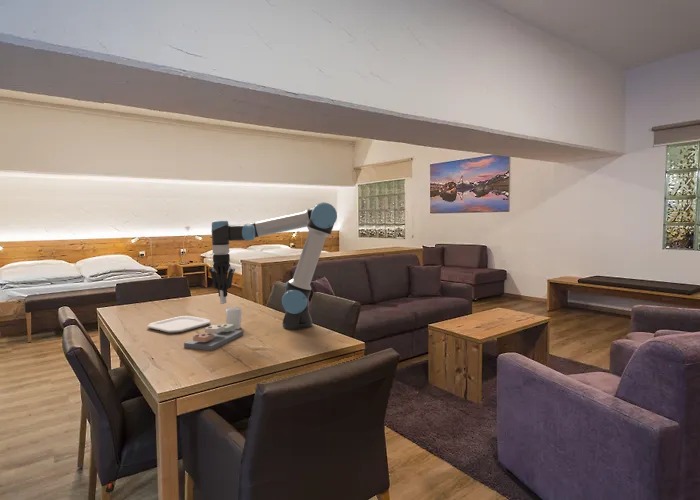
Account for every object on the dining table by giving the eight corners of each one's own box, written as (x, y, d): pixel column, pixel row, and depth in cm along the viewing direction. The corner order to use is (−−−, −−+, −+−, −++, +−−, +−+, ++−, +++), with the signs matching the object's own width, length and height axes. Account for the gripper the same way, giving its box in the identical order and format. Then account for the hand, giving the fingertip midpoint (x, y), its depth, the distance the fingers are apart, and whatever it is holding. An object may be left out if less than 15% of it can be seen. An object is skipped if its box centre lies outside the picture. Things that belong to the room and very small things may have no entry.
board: (243, 334, 196) (243, 330, 196) (211, 350, 173) (211, 345, 173) (218, 332, 200) (217, 328, 200) (184, 347, 178) (183, 342, 178)
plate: (173, 336, 195) (173, 331, 195) (142, 329, 208) (142, 324, 208) (215, 324, 216) (215, 320, 216) (185, 318, 229) (184, 314, 229)
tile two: (224, 330, 188) (224, 325, 188) (216, 333, 183) (216, 328, 183) (213, 329, 190) (213, 324, 190) (204, 332, 185) (204, 327, 184)
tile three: (213, 338, 181) (213, 333, 181) (204, 342, 175) (204, 337, 175) (202, 337, 183) (202, 332, 183) (193, 341, 177) (192, 335, 177)
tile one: (234, 328, 196) (234, 323, 196) (227, 332, 190) (226, 327, 190) (223, 327, 198) (223, 323, 198) (216, 331, 192) (215, 326, 192)
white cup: (237, 330, 203) (237, 310, 203) (222, 329, 205) (222, 310, 204) (244, 326, 211) (244, 307, 210) (230, 325, 213) (230, 306, 212)
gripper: (237, 253, 195) (239, 302, 197) (213, 252, 198) (216, 301, 200) (228, 254, 187) (230, 305, 189) (204, 254, 191) (206, 304, 193)
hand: (223, 303), depth 195 cm, fingers closed
